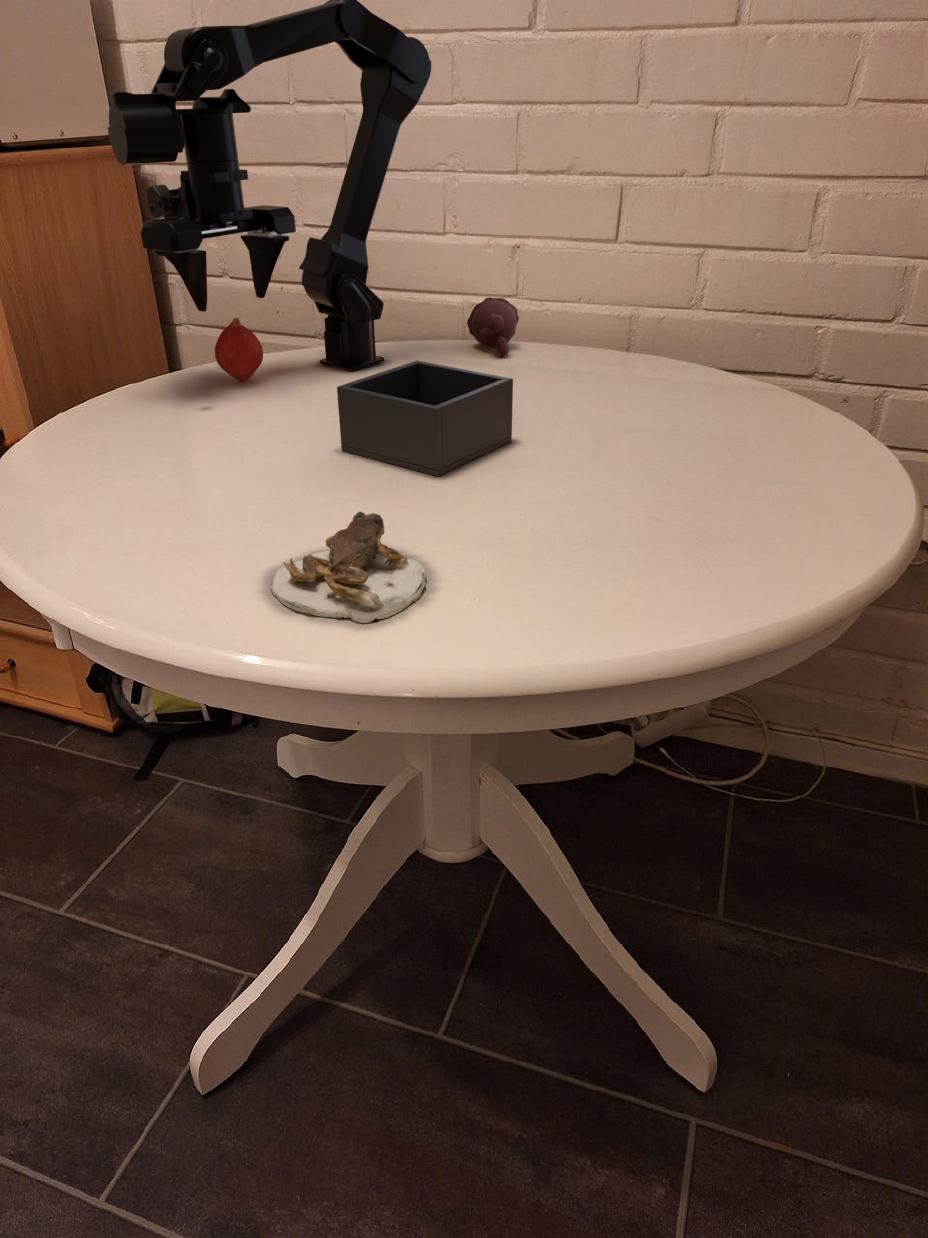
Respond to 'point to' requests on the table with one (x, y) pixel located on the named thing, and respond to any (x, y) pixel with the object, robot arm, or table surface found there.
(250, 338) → the onion
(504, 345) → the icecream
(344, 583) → the frog figurine
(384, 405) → the bin
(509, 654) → the table surface
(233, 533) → the table surface
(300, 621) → the table surface
